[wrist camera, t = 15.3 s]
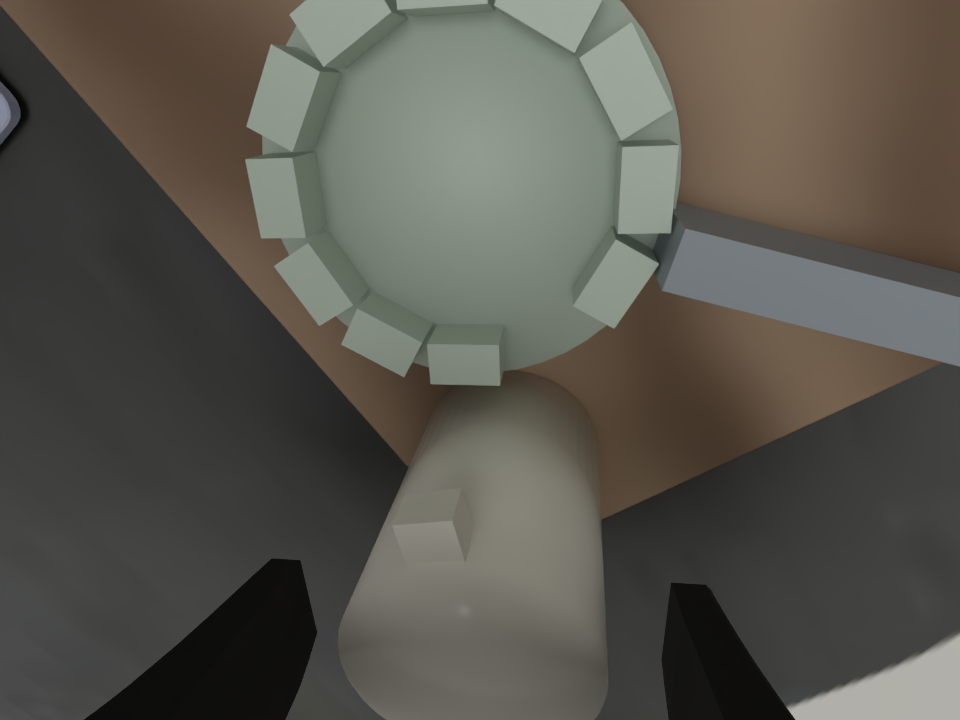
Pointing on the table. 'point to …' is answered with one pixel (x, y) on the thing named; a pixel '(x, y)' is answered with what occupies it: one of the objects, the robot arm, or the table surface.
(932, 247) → the walnut board
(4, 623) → the table surface
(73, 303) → the table surface
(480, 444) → the cream round-ended cylinder
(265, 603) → the robot arm
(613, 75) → the turntable
